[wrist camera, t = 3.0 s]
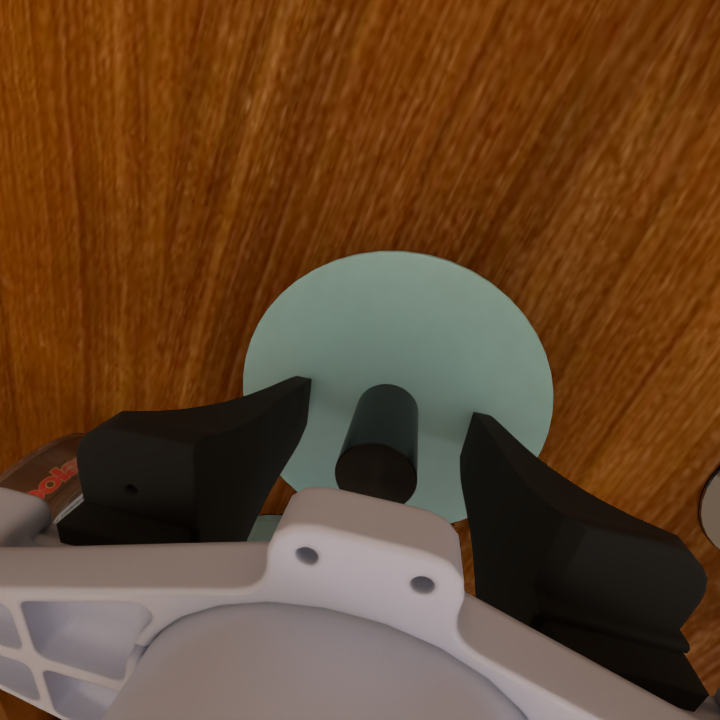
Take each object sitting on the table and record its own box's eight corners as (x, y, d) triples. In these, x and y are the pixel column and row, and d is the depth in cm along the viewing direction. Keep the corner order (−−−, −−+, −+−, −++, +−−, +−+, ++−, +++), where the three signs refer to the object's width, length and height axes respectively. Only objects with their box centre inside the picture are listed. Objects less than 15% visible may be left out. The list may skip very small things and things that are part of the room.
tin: (107, 400, 17) (-145, 543, 10) (163, 434, 18) (-40, 601, 10) (49, 567, 23) (-138, 740, 15) (92, 591, 23) (-71, 774, 16)
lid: (548, 505, 16) (603, 628, 11) (294, 516, 18) (249, 618, 13) (537, 215, 12) (615, 210, 7) (216, 281, 14) (116, 310, 10)
